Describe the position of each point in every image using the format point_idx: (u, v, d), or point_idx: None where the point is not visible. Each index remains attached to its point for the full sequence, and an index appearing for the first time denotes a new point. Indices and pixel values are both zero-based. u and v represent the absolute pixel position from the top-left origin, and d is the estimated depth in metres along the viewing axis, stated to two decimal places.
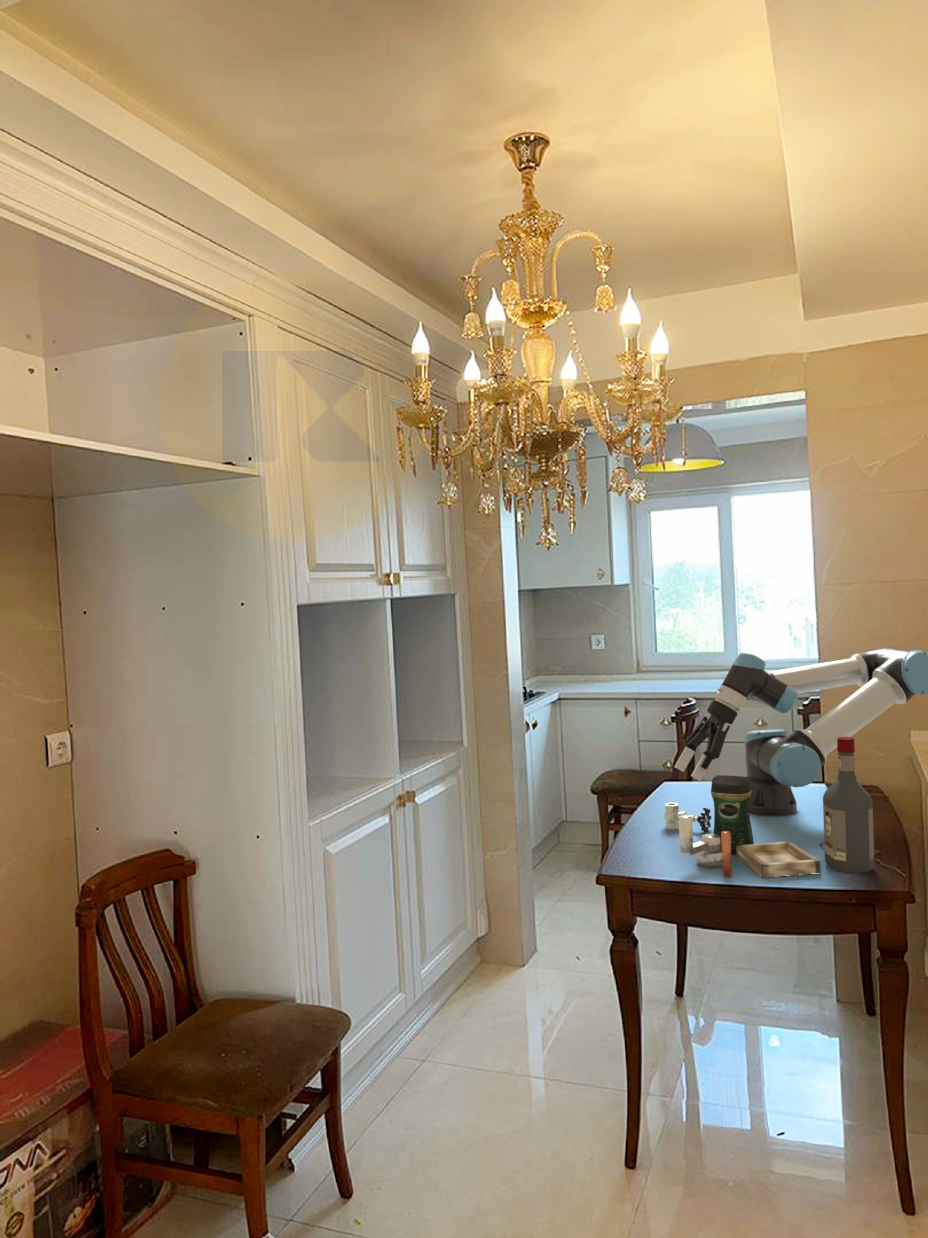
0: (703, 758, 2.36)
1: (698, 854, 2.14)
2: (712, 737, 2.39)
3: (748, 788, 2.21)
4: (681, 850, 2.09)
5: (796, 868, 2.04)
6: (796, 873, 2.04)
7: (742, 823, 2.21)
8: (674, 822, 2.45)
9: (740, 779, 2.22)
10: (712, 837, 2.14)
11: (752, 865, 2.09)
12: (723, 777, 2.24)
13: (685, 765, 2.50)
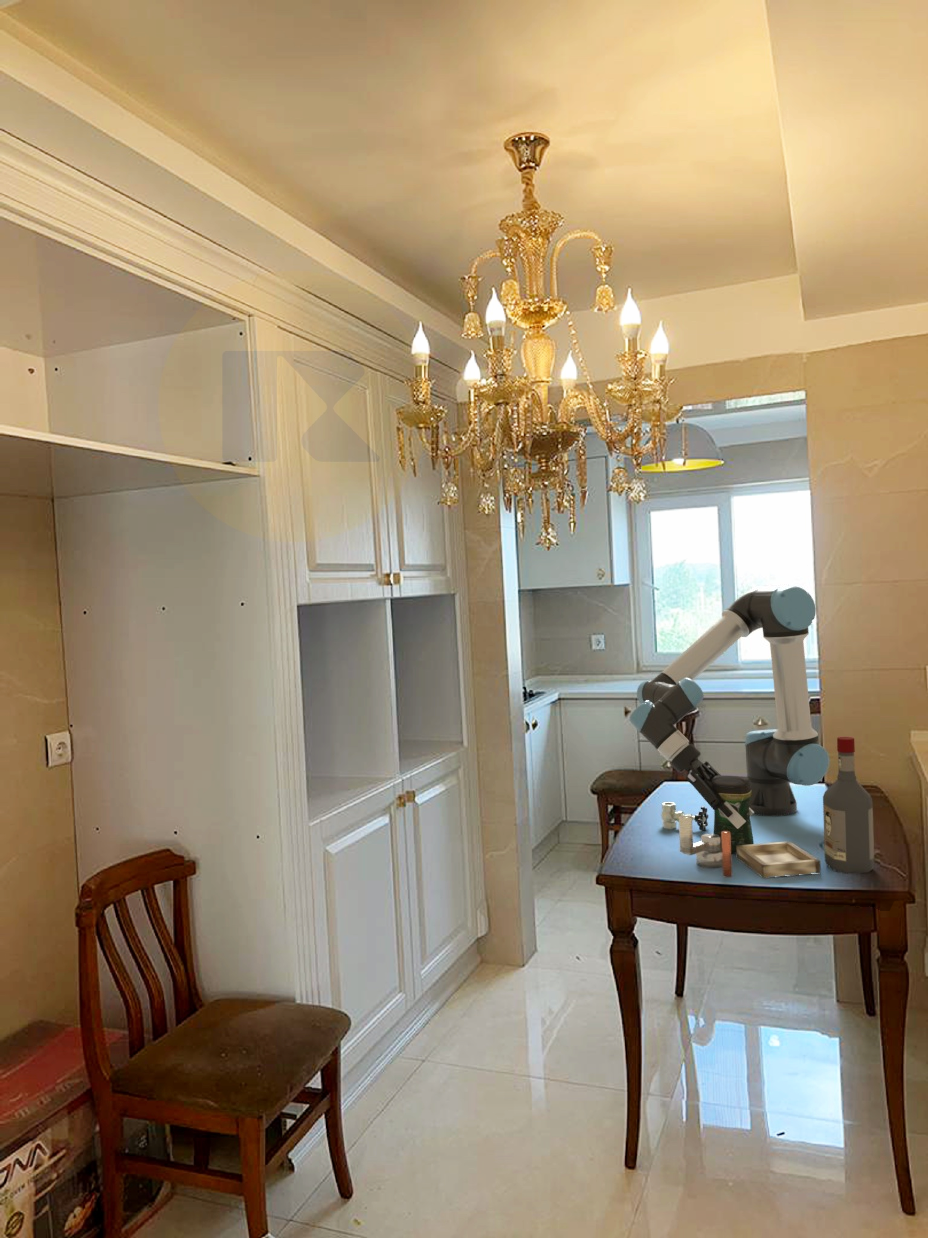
0: None
1: (698, 854, 2.14)
2: None
3: (748, 788, 2.21)
4: (681, 850, 2.09)
5: (796, 868, 2.04)
6: (796, 873, 2.04)
7: None
8: (671, 821, 2.46)
9: (740, 779, 2.22)
10: (712, 837, 2.14)
11: (752, 865, 2.09)
12: (723, 777, 2.24)
13: None
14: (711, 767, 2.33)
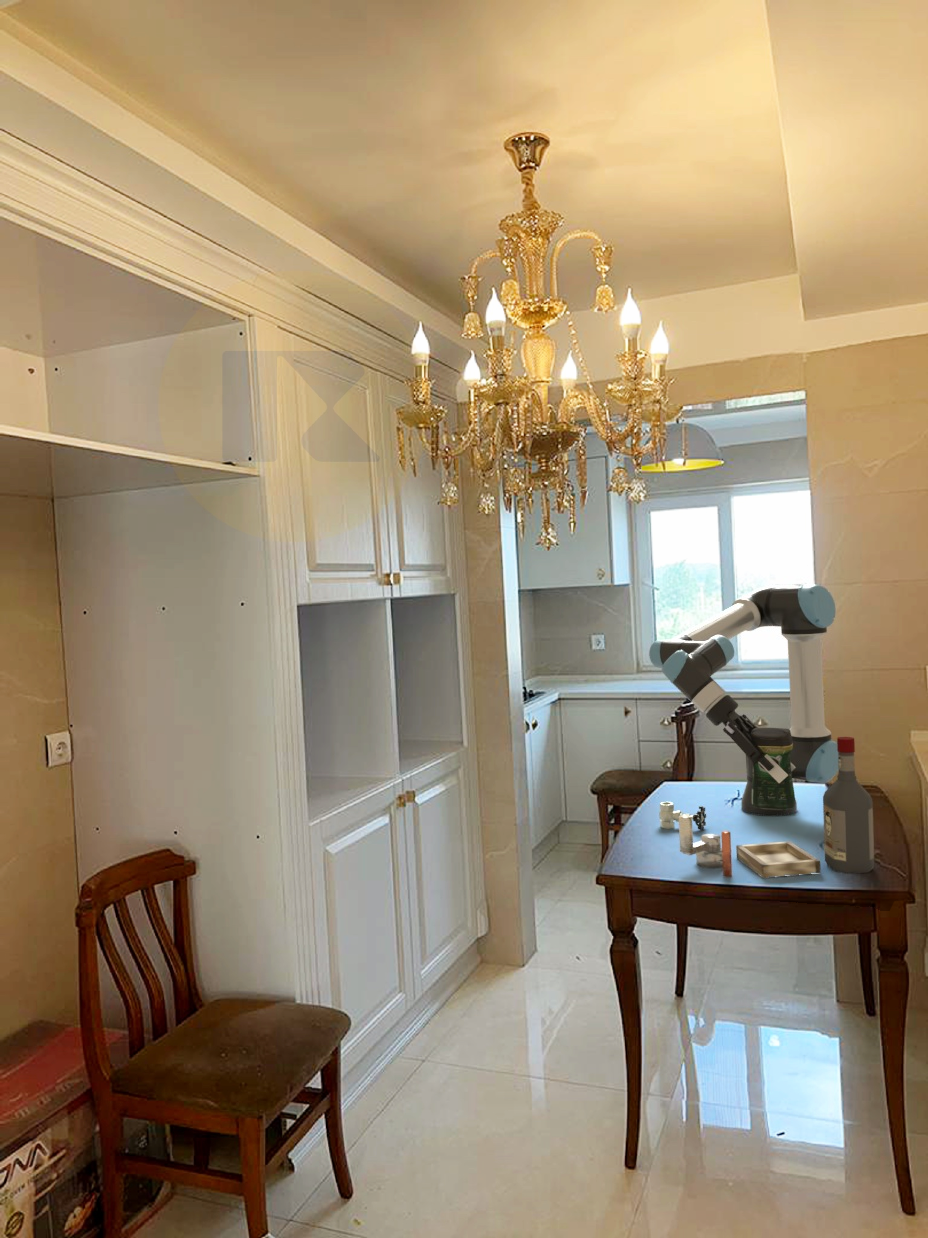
0: (761, 764, 2.07)
1: (698, 854, 2.14)
2: None
3: (790, 740, 2.07)
4: (681, 850, 2.09)
5: (796, 868, 2.04)
6: (796, 873, 2.04)
7: None
8: (670, 821, 2.46)
9: (781, 731, 2.08)
10: (712, 837, 2.14)
11: (752, 865, 2.09)
12: (763, 729, 2.10)
13: None
14: (749, 720, 2.19)
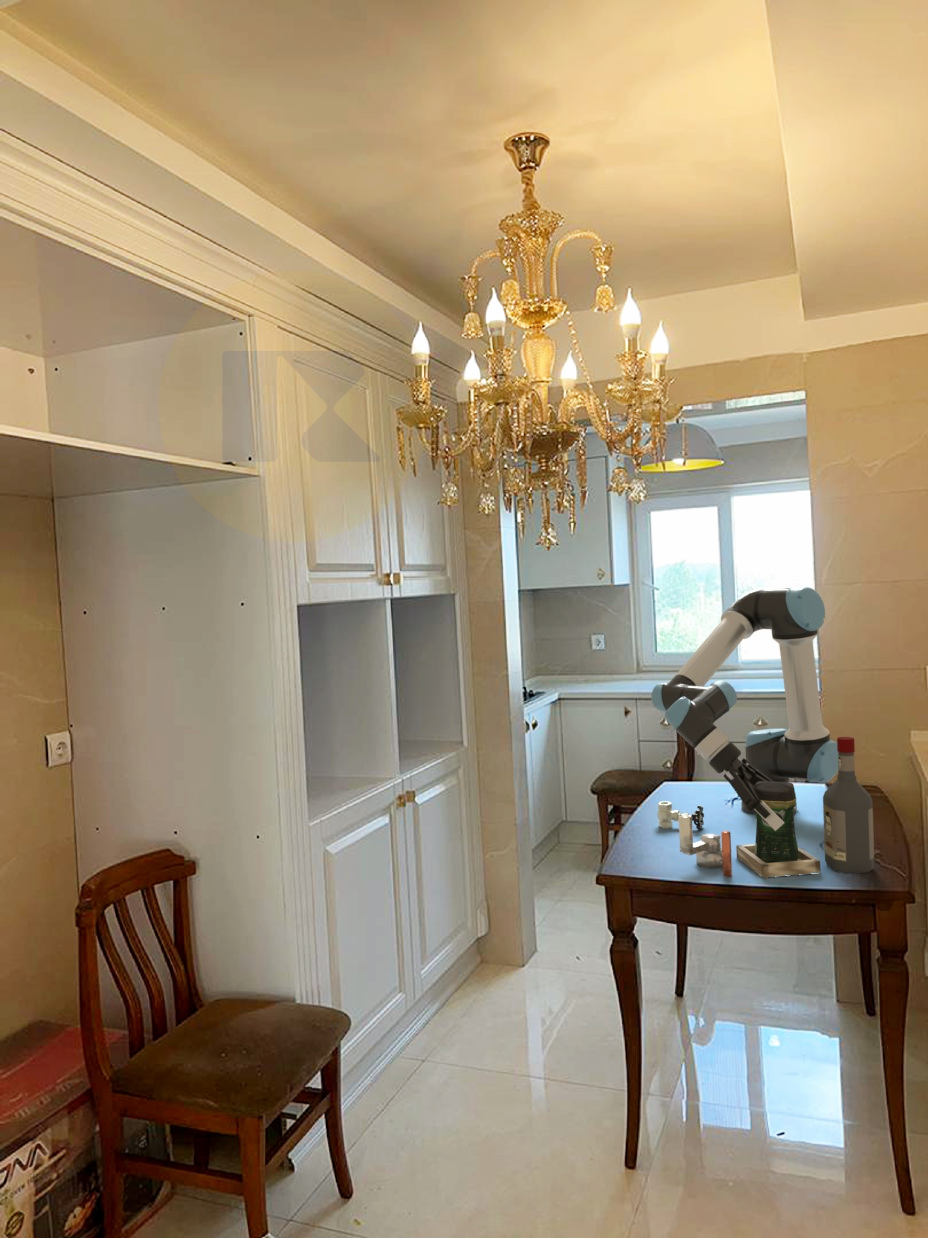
0: (757, 811, 2.06)
1: (698, 854, 2.14)
2: None
3: (793, 795, 2.08)
4: (681, 850, 2.09)
5: (796, 868, 2.04)
6: (796, 873, 2.04)
7: (787, 832, 2.07)
8: (668, 821, 2.47)
9: (784, 785, 2.08)
10: (712, 837, 2.14)
11: (752, 865, 2.09)
12: (766, 783, 2.11)
13: None
14: (749, 764, 2.20)
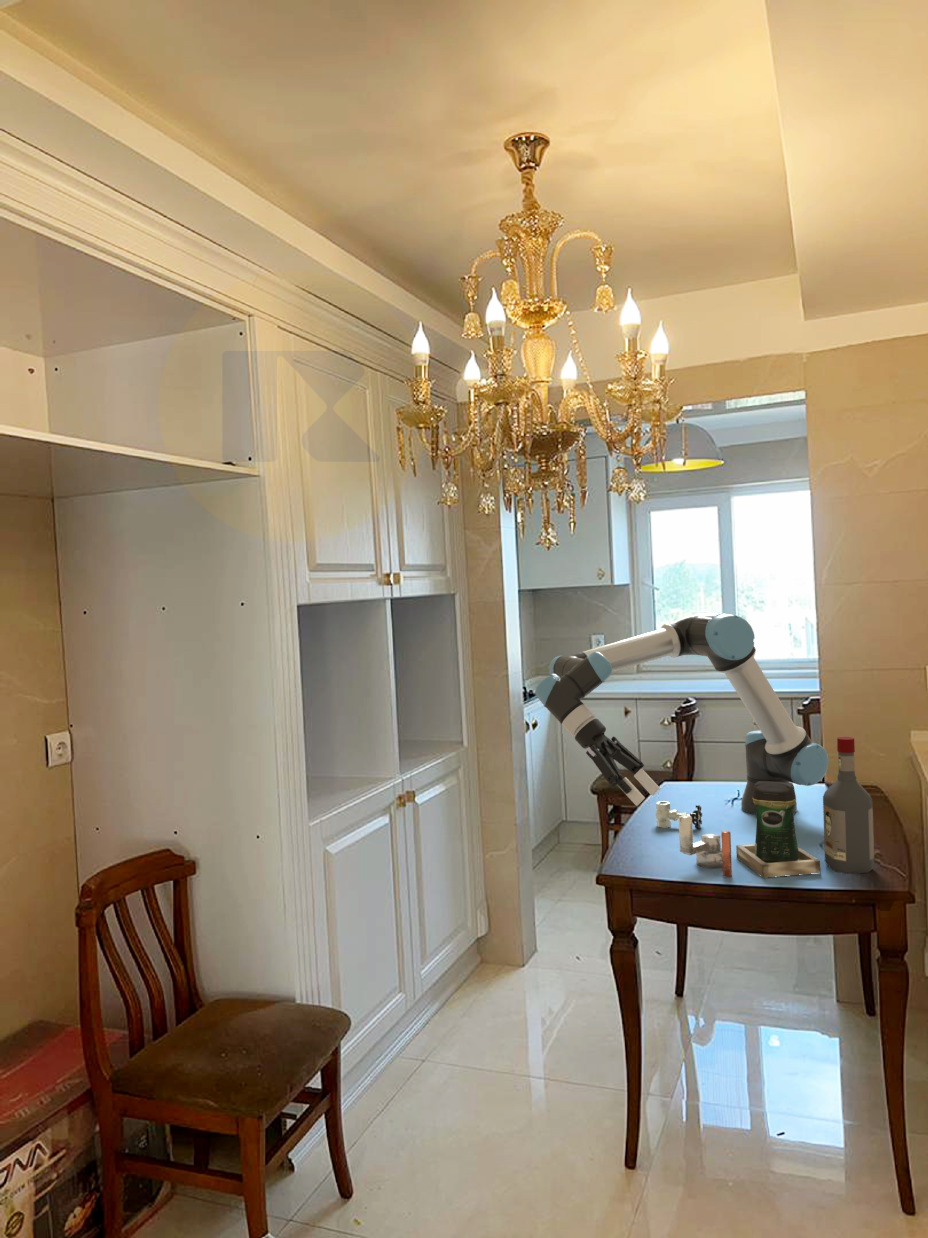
0: None
1: (698, 854, 2.14)
2: None
3: (793, 795, 2.08)
4: (681, 850, 2.09)
5: (796, 868, 2.04)
6: (796, 873, 2.04)
7: (787, 832, 2.07)
8: (666, 820, 2.47)
9: (784, 785, 2.08)
10: (712, 837, 2.14)
11: (752, 865, 2.09)
12: (766, 783, 2.11)
13: (652, 784, 2.18)
14: (618, 742, 2.24)
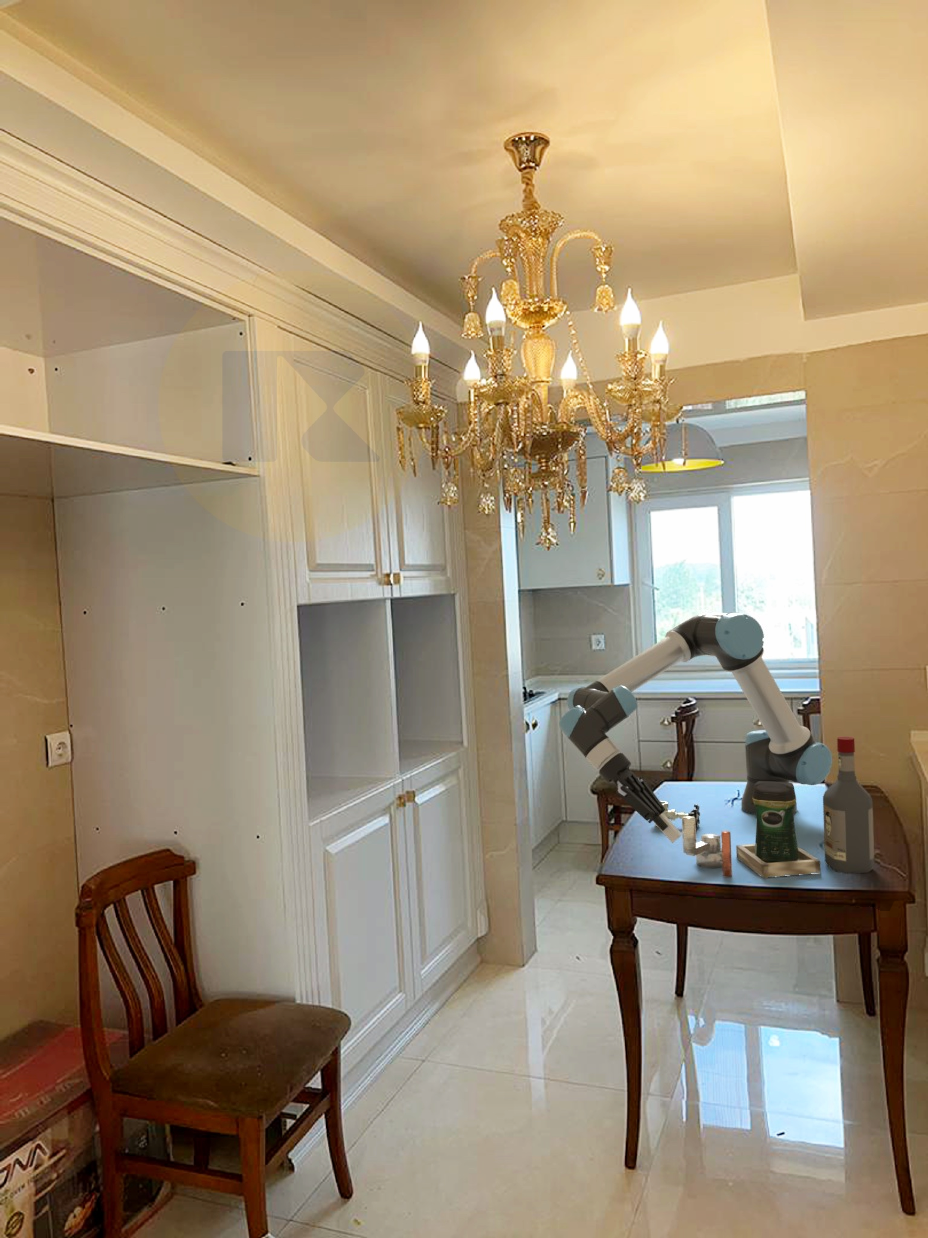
0: None
1: (698, 854, 2.14)
2: None
3: (793, 795, 2.08)
4: (685, 851, 2.08)
5: (796, 868, 2.04)
6: (796, 873, 2.04)
7: (787, 832, 2.07)
8: None
9: (784, 785, 2.08)
10: (712, 837, 2.14)
11: (752, 865, 2.09)
12: (766, 783, 2.11)
13: None
14: (644, 782, 2.19)
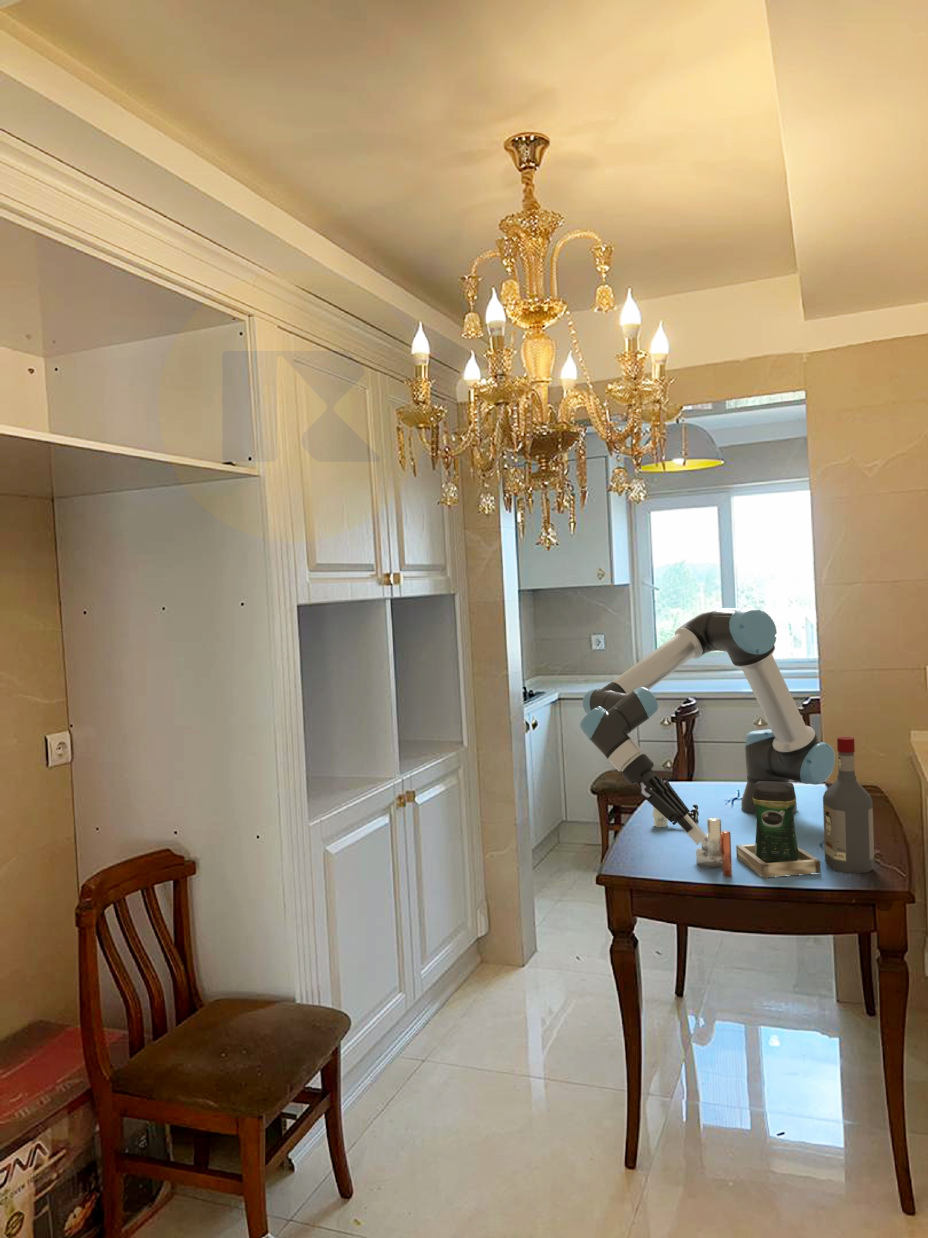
0: (681, 825, 2.09)
1: (698, 854, 2.14)
2: None
3: (793, 795, 2.08)
4: (714, 854, 2.05)
5: (796, 868, 2.04)
6: (796, 873, 2.04)
7: (787, 832, 2.07)
8: (663, 820, 2.47)
9: (784, 785, 2.08)
10: None
11: (752, 865, 2.09)
12: (766, 783, 2.11)
13: None
14: (667, 783, 2.16)
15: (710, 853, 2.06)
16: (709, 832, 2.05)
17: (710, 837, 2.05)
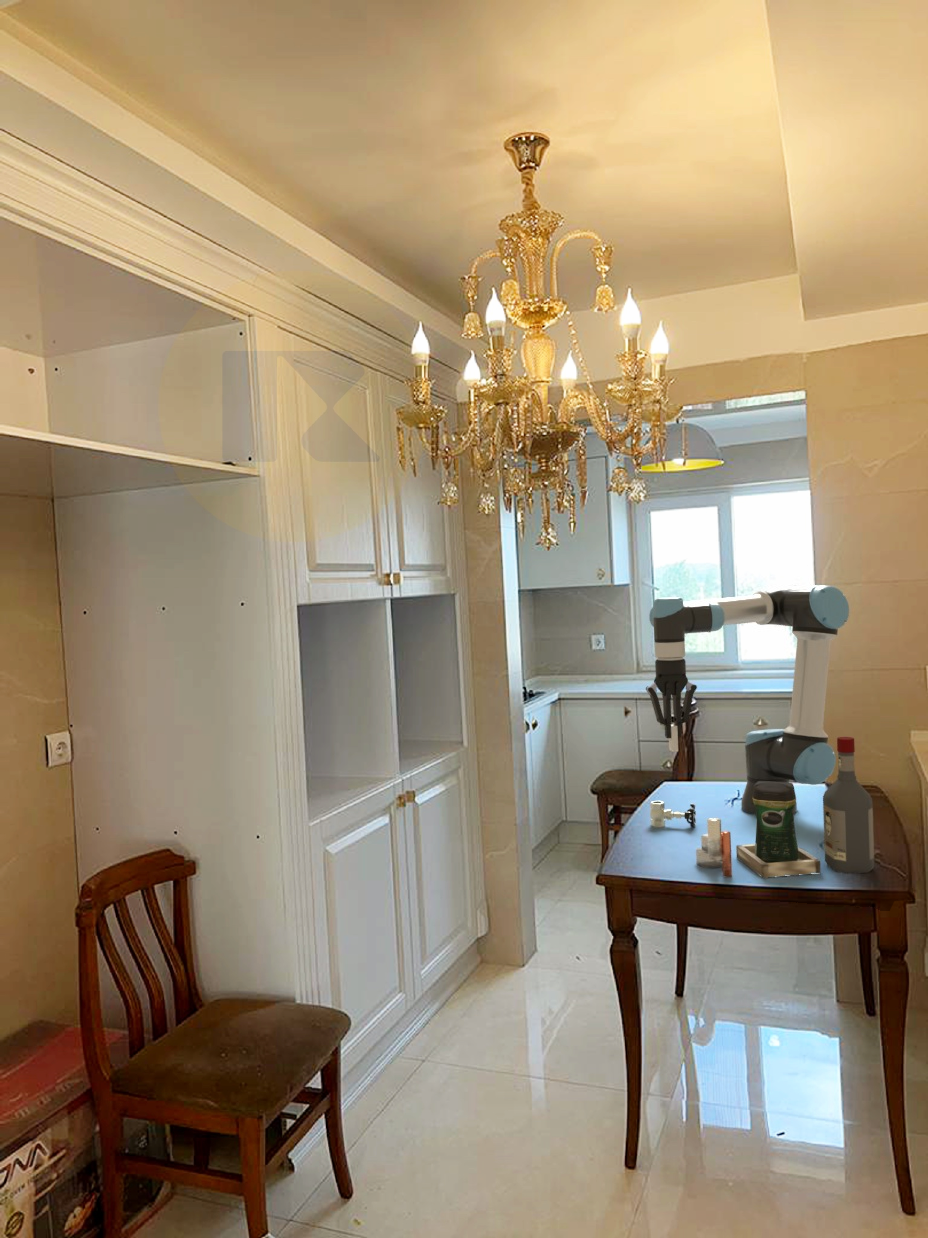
0: None
1: (698, 854, 2.14)
2: (663, 701, 2.30)
3: (793, 795, 2.08)
4: (714, 854, 2.05)
5: (796, 868, 2.04)
6: (796, 873, 2.04)
7: (787, 832, 2.07)
8: (661, 820, 2.48)
9: (784, 785, 2.08)
10: None
11: (752, 865, 2.09)
12: (766, 783, 2.11)
13: None
14: (691, 692, 2.29)
15: (710, 853, 2.06)
16: (709, 832, 2.05)
17: (710, 837, 2.05)
